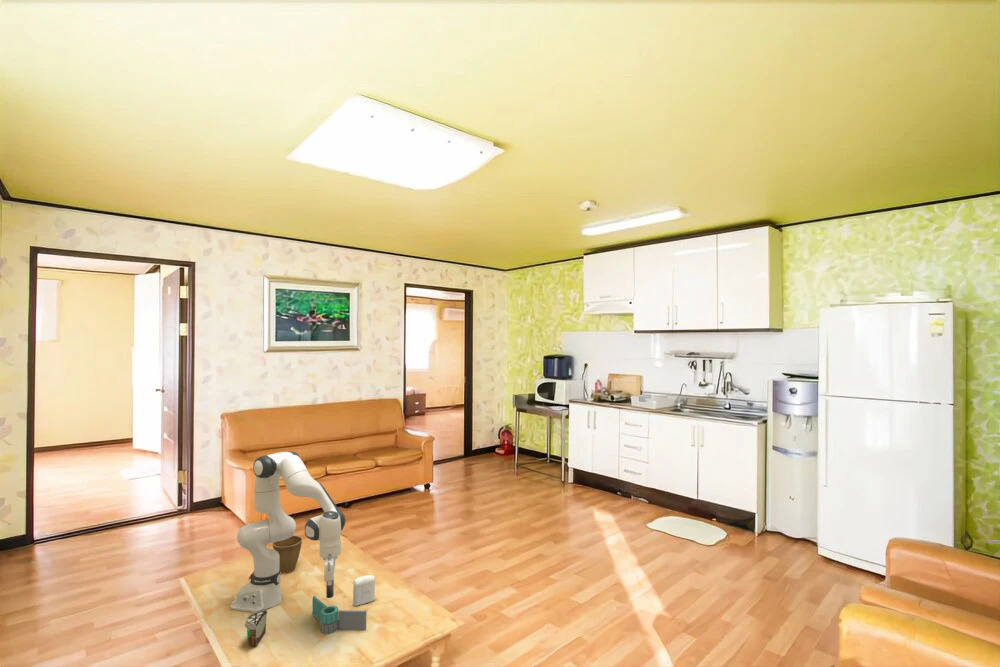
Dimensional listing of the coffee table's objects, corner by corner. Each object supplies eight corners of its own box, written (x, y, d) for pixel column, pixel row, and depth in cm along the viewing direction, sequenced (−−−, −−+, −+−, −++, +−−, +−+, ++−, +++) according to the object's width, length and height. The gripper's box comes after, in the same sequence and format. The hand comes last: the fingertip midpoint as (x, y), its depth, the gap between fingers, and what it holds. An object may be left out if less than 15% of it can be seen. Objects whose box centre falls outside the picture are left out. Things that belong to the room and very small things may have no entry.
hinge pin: (325, 598, 208) (325, 570, 208) (327, 594, 211) (327, 567, 211) (332, 597, 209) (333, 569, 209) (334, 594, 211) (334, 566, 212)
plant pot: (266, 571, 261) (267, 542, 262) (292, 561, 274) (292, 533, 274) (282, 579, 253) (282, 549, 253) (307, 568, 265) (307, 539, 265)
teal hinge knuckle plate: (340, 628, 210) (340, 610, 210) (325, 635, 205) (325, 616, 205) (320, 610, 223) (320, 593, 223) (305, 616, 218) (306, 599, 218)
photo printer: (372, 597, 236) (373, 571, 236) (375, 601, 233) (376, 575, 233) (351, 603, 231) (352, 577, 231) (354, 607, 227) (354, 581, 227)
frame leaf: (318, 634, 206) (318, 615, 206) (324, 624, 213) (324, 606, 213) (363, 634, 206) (363, 615, 206) (368, 624, 213) (368, 606, 213)
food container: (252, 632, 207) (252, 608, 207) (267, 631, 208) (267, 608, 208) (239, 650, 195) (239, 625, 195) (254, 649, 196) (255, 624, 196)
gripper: (336, 559, 201) (336, 592, 201) (338, 540, 221) (338, 570, 220) (320, 561, 199) (320, 595, 199) (324, 542, 219) (324, 572, 219)
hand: (330, 582), depth 210 cm, fingers closed on hinge pin, 3 cm apart
